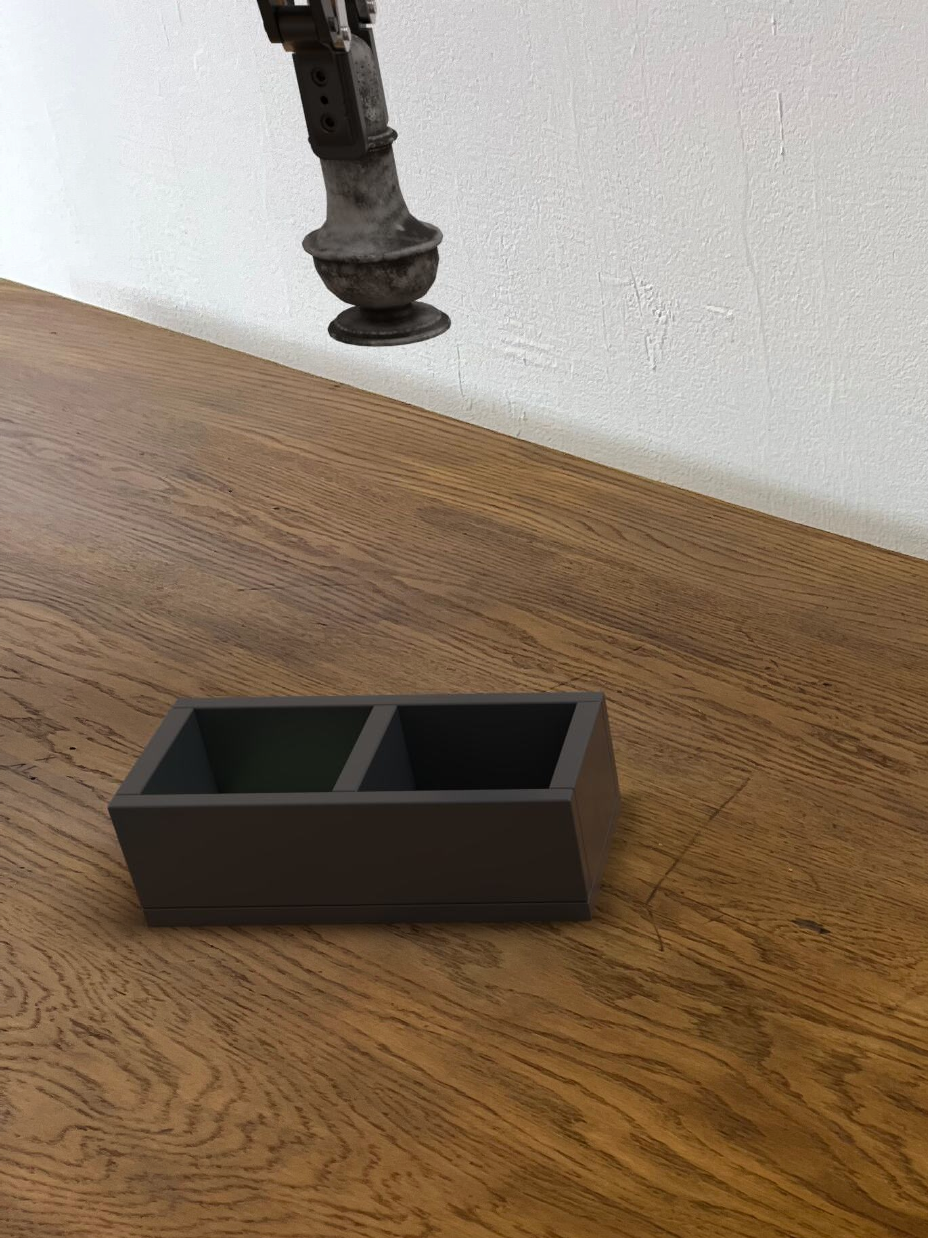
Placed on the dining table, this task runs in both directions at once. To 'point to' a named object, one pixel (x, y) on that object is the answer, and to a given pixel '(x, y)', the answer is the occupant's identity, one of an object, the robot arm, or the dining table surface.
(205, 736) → the divided open box
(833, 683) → the dining table surface
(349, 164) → the salt shaker
